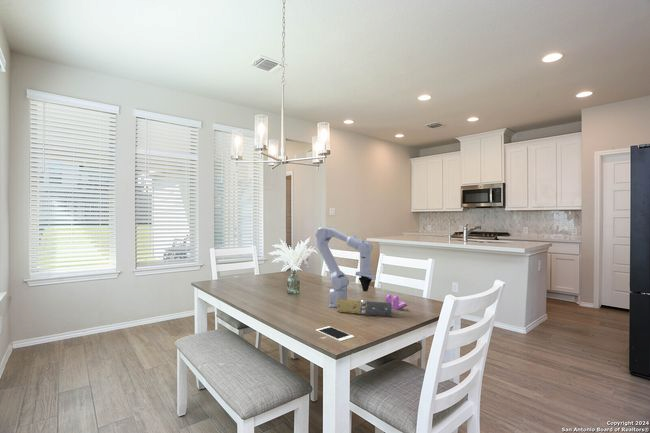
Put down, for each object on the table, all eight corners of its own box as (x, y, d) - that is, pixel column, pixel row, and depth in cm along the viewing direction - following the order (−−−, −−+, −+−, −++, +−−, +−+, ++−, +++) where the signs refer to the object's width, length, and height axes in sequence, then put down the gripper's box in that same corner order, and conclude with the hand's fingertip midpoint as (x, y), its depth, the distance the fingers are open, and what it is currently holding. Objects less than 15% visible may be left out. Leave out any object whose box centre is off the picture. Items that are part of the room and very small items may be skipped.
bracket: (395, 310, 167) (395, 296, 167) (385, 308, 170) (385, 295, 170) (406, 305, 176) (406, 292, 177) (397, 303, 180) (397, 290, 180)
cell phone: (340, 342, 124) (340, 340, 124) (315, 331, 136) (315, 329, 136) (354, 337, 129) (354, 336, 129) (329, 327, 141) (329, 325, 141)
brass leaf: (366, 313, 160) (366, 300, 160) (365, 314, 157) (365, 301, 157) (338, 310, 165) (338, 298, 165) (336, 311, 162) (336, 299, 162)
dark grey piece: (360, 314, 158) (360, 300, 158) (361, 313, 160) (361, 299, 160) (391, 316, 155) (391, 302, 155) (391, 315, 157) (391, 301, 157)
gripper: (351, 264, 172) (351, 289, 172) (368, 267, 159) (368, 295, 159) (361, 263, 176) (361, 288, 175) (379, 266, 163) (379, 293, 163)
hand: (365, 291), depth 168 cm, fingers closed
